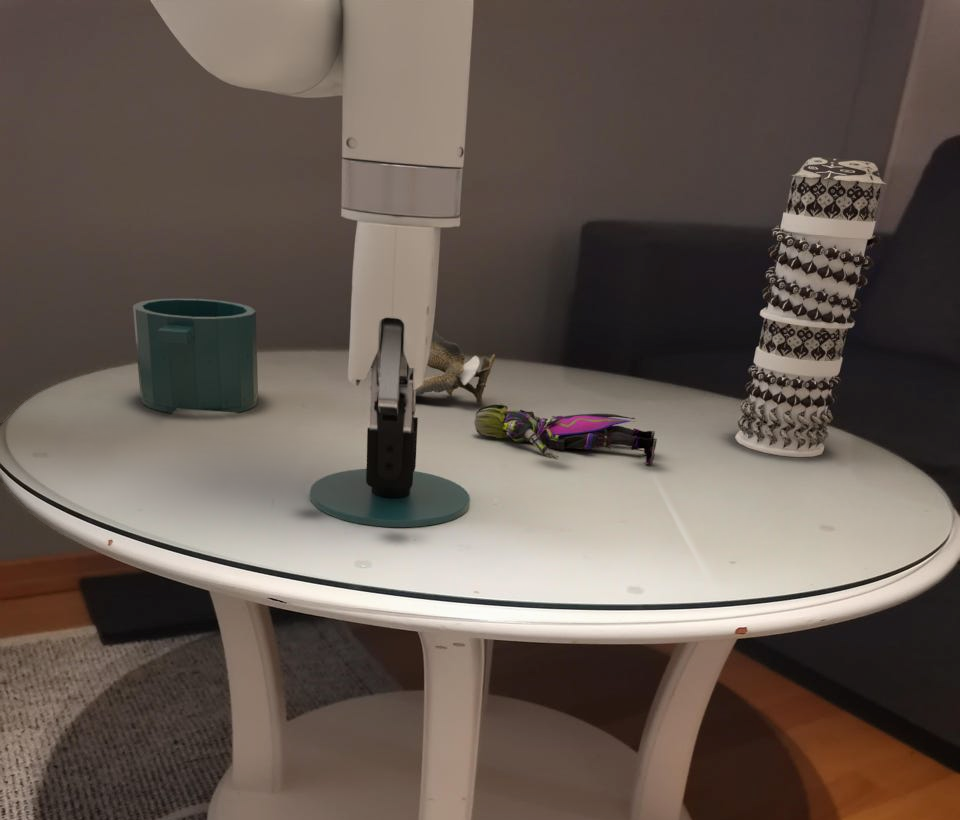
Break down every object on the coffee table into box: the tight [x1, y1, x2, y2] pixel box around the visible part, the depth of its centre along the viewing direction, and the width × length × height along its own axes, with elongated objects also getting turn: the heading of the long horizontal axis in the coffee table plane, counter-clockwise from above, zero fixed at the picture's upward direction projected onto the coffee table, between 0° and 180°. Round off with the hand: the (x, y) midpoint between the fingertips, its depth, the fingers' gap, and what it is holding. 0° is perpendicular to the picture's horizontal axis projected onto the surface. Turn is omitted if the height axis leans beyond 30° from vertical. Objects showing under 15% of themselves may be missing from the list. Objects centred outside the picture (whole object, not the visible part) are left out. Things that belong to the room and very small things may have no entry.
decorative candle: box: [734, 157, 886, 458], centre depth 89 cm, size 9×9×25 cm
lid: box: [309, 415, 471, 528], centre depth 69 cm, size 11×11×7 cm
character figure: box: [474, 403, 658, 466], centre depth 86 cm, size 9×4×16 cm
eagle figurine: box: [416, 330, 496, 406], centre depth 99 cm, size 8×7×9 cm
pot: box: [132, 297, 259, 414], centre depth 91 cm, size 11×16×8 cm, turn 0°
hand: (391, 476), depth 69 cm, fingers closed on lid, 2 cm apart
